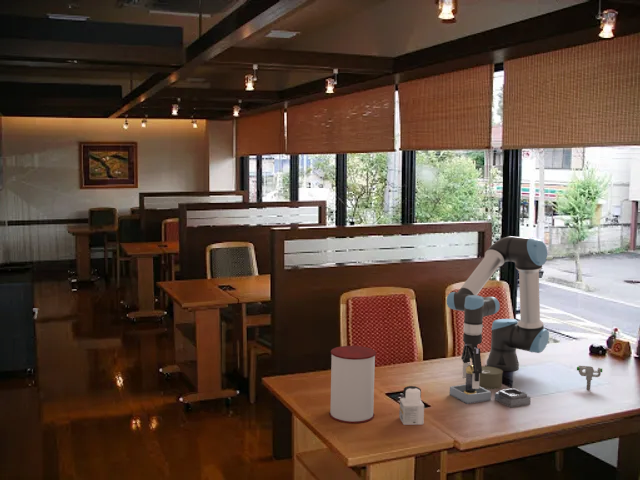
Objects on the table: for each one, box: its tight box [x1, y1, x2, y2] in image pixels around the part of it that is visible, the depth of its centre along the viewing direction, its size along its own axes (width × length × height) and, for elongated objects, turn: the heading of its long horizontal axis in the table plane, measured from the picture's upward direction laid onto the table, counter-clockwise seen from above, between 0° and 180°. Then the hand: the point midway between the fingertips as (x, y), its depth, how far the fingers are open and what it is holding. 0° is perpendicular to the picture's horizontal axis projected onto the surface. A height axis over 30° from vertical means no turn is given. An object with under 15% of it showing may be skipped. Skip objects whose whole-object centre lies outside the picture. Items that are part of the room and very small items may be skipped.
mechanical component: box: [576, 365, 603, 391], centre depth 298 cm, size 3×10×10 cm, turn 79°
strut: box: [464, 364, 477, 395], centre depth 284 cm, size 5×5×13 cm
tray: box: [449, 383, 492, 405], centre depth 285 cm, size 12×12×4 cm
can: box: [479, 365, 504, 390], centre depth 302 cm, size 12×12×7 cm
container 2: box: [398, 385, 425, 426], centre depth 257 cm, size 8×8×13 cm
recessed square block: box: [494, 387, 532, 409], centre depth 280 cm, size 10×10×4 cm
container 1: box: [328, 345, 377, 424], centre depth 262 cm, size 17×17×25 cm
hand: (470, 383), depth 284 cm, fingers open, 13 cm apart
